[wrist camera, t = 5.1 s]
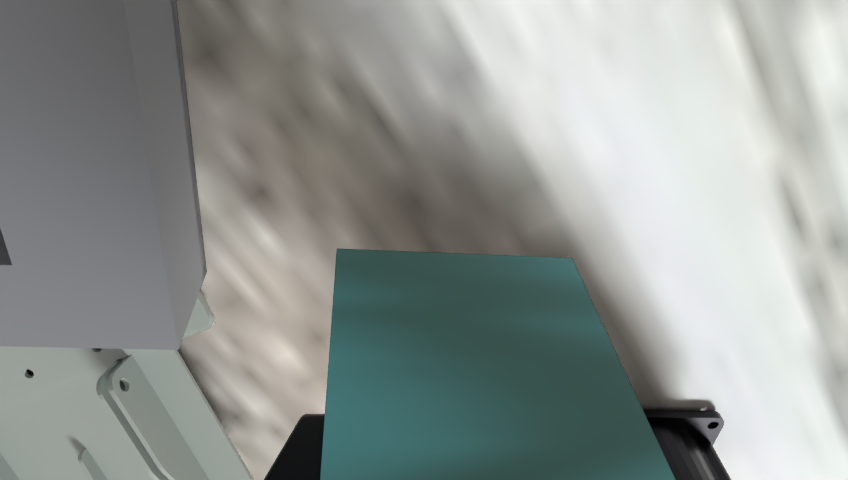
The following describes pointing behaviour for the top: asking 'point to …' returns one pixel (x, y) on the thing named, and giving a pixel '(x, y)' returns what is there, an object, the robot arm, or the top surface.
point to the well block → (96, 176)
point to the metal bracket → (110, 415)
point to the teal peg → (476, 374)
